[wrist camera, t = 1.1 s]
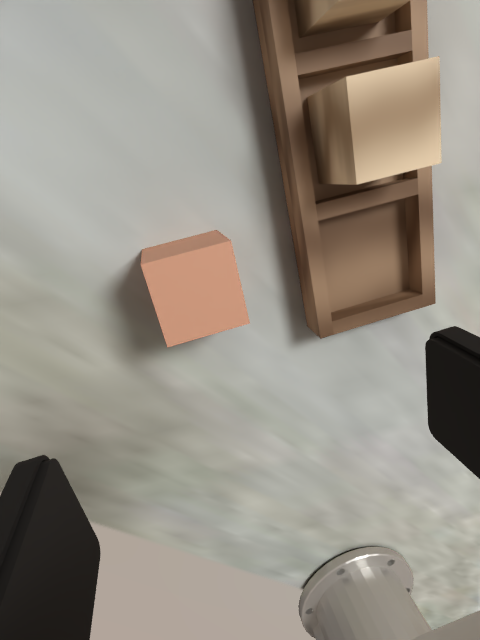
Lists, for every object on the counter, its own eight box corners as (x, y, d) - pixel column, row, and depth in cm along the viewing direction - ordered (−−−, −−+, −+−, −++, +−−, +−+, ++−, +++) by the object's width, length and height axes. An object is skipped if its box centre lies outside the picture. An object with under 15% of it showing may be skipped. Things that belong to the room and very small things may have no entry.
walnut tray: (413, 294, 31) (472, 319, 25) (307, 326, 29) (343, 359, 24) (392, -131, 21) (477, -241, 16) (234, -108, 20) (266, -216, 15)
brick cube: (233, 299, 28) (249, 323, 23) (164, 318, 27) (167, 347, 22) (216, 229, 26) (230, 240, 21) (142, 249, 25) (140, 264, 21)
